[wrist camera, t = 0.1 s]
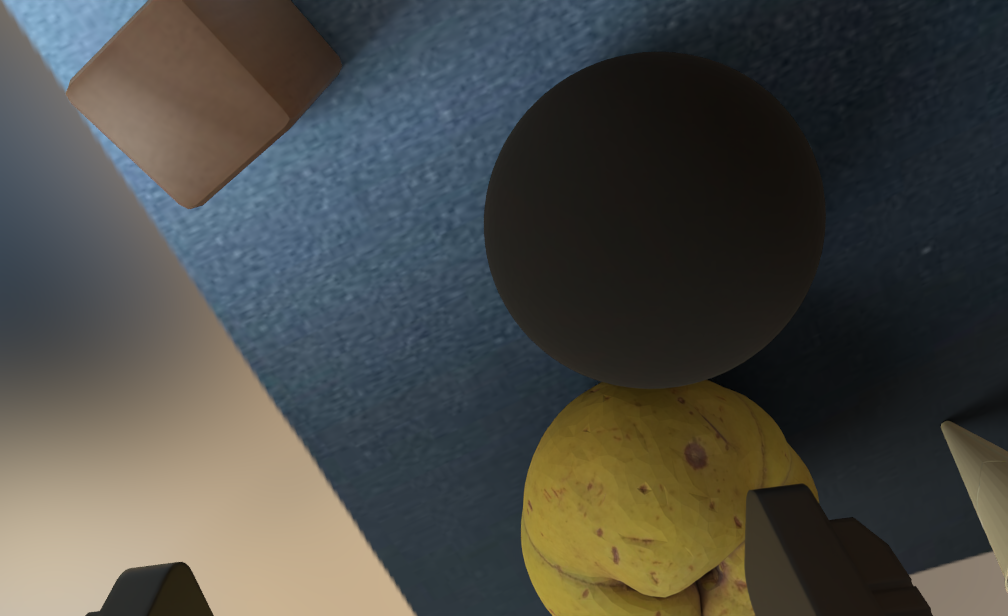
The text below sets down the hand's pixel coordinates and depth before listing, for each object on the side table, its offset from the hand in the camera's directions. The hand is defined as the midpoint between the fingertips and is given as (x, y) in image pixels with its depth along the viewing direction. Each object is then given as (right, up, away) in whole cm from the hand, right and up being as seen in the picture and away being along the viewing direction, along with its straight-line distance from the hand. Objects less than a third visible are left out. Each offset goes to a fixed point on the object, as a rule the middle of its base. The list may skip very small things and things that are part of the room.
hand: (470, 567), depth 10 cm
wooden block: (-8, +12, +14) cm, 20 cm away
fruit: (+6, -2, +22) cm, 23 cm away
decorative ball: (+5, +9, +16) cm, 19 cm away
